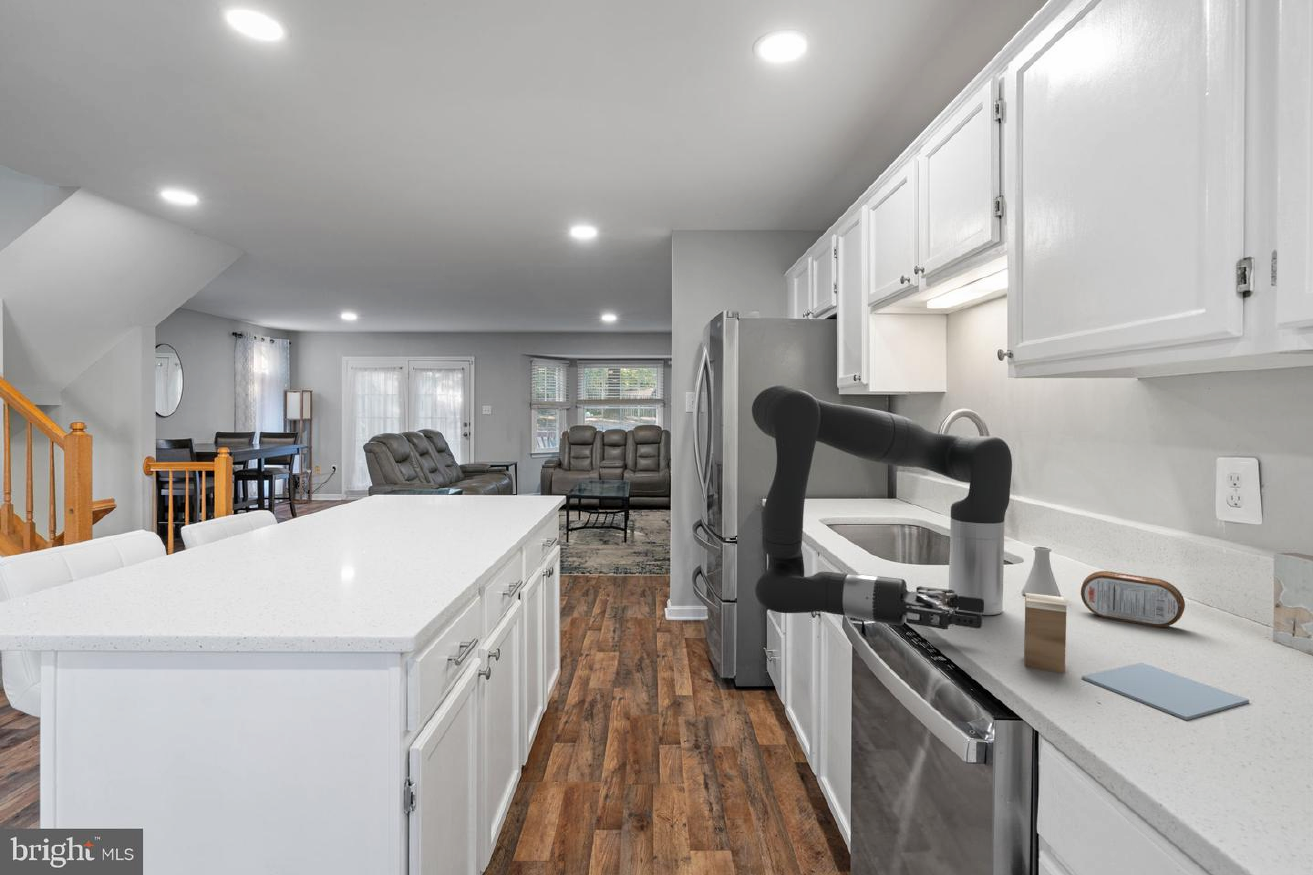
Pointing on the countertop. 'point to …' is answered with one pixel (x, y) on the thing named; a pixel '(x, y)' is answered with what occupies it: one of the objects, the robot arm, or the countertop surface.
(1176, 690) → the mat
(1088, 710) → the countertop surface
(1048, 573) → the flask
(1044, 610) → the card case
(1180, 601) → the tin
